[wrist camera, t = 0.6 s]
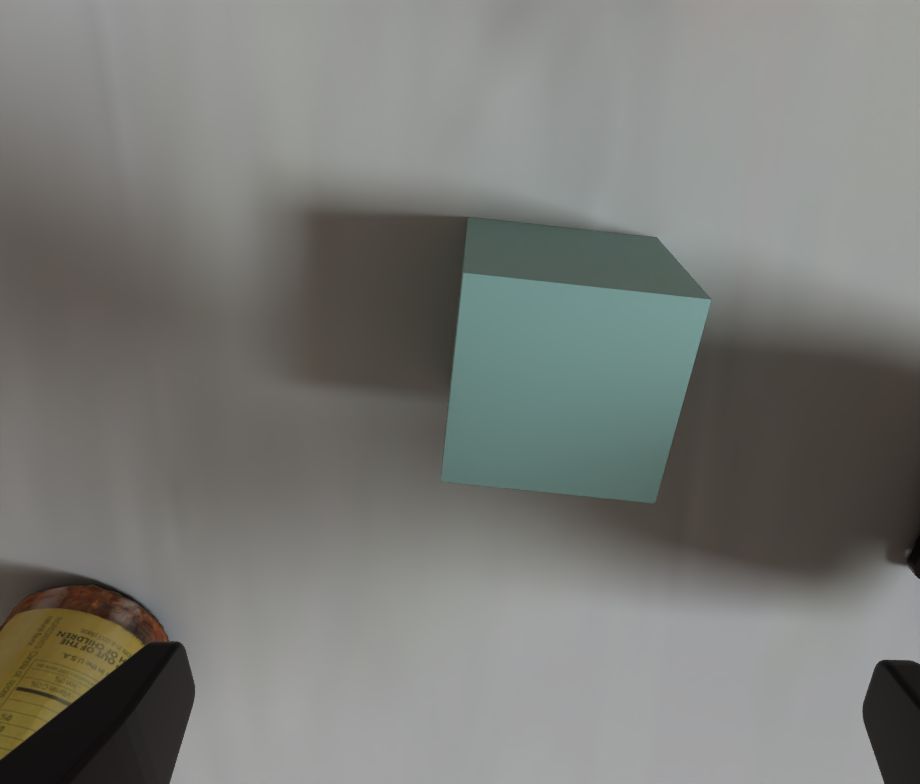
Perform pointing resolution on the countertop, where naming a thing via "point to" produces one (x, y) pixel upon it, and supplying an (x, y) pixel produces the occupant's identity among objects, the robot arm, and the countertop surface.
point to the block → (569, 360)
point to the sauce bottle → (63, 652)
